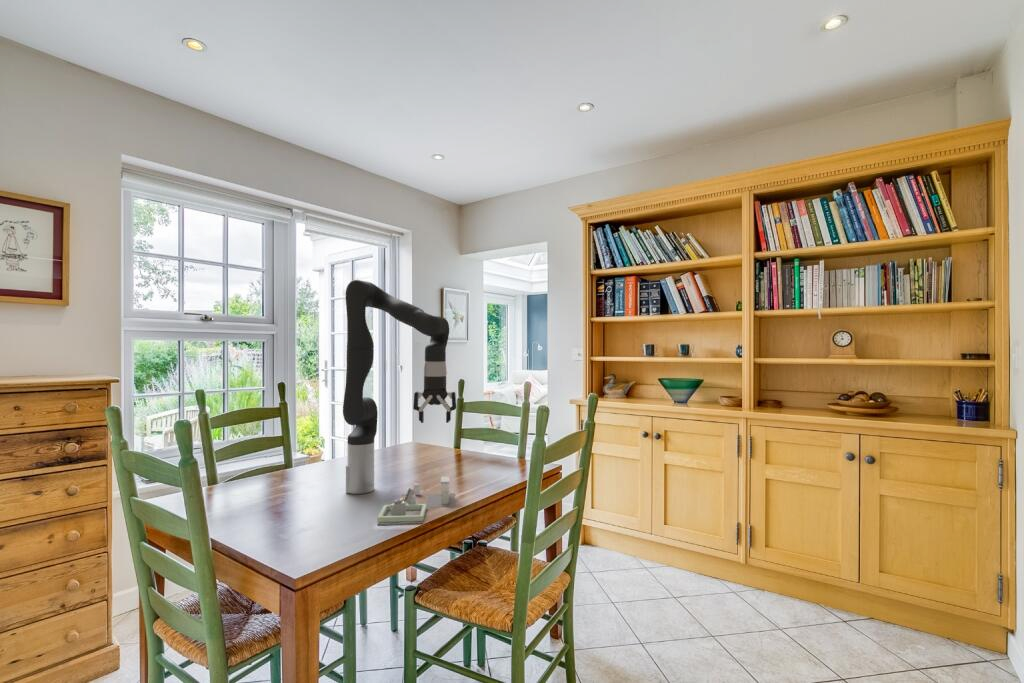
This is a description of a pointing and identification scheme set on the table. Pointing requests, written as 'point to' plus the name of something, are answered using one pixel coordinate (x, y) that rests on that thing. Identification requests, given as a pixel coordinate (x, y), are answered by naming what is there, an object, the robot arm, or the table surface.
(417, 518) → the tray
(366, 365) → the robot arm
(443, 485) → the block
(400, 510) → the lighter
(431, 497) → the fuse panel
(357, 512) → the table surface
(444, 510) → the table surface
